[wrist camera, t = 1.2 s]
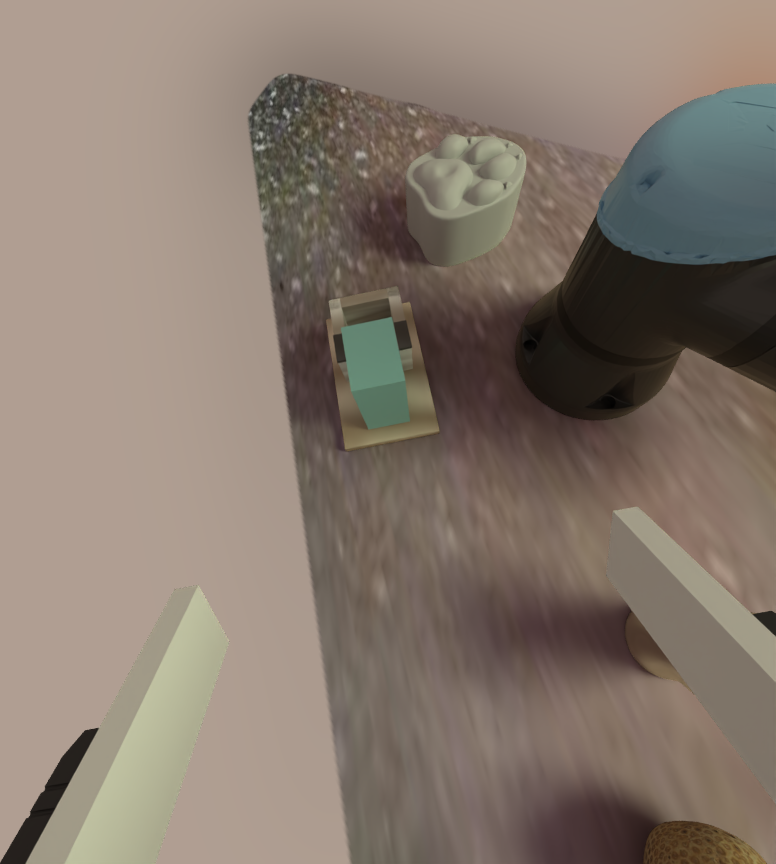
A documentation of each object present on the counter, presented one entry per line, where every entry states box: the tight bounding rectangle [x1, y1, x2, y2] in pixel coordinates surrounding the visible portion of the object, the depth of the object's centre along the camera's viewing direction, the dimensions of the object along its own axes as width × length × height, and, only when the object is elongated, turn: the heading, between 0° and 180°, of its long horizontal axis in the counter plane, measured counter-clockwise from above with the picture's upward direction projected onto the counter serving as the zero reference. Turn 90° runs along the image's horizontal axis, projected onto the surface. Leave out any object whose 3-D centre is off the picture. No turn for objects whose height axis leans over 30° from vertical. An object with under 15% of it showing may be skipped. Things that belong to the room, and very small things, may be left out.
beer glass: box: [625, 611, 756, 694], centre depth 26 cm, size 7×7×15 cm
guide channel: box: [326, 286, 440, 451], centre depth 41 cm, size 16×10×6 cm, turn 10°
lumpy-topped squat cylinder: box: [405, 134, 526, 267], centre depth 45 cm, size 10×13×9 cm
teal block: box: [341, 317, 410, 429], centre depth 36 cm, size 6×4×10 cm
